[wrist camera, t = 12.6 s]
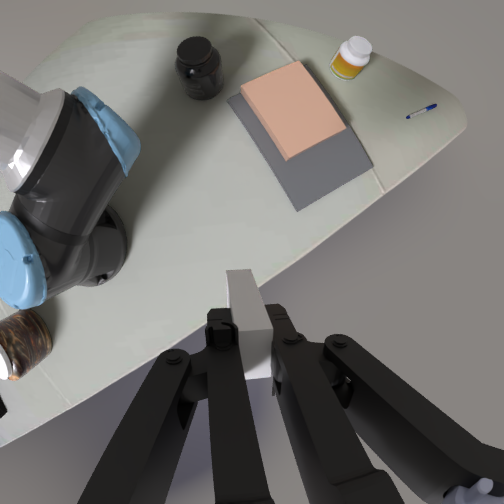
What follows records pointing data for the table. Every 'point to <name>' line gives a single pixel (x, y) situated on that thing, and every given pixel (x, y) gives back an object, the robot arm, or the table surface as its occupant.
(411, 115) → the ballpoint pen
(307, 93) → the tile
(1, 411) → the disc drive
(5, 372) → the jar
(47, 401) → the table surface
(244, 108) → the mat
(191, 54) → the supplement bottle
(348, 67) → the supplement bottle
